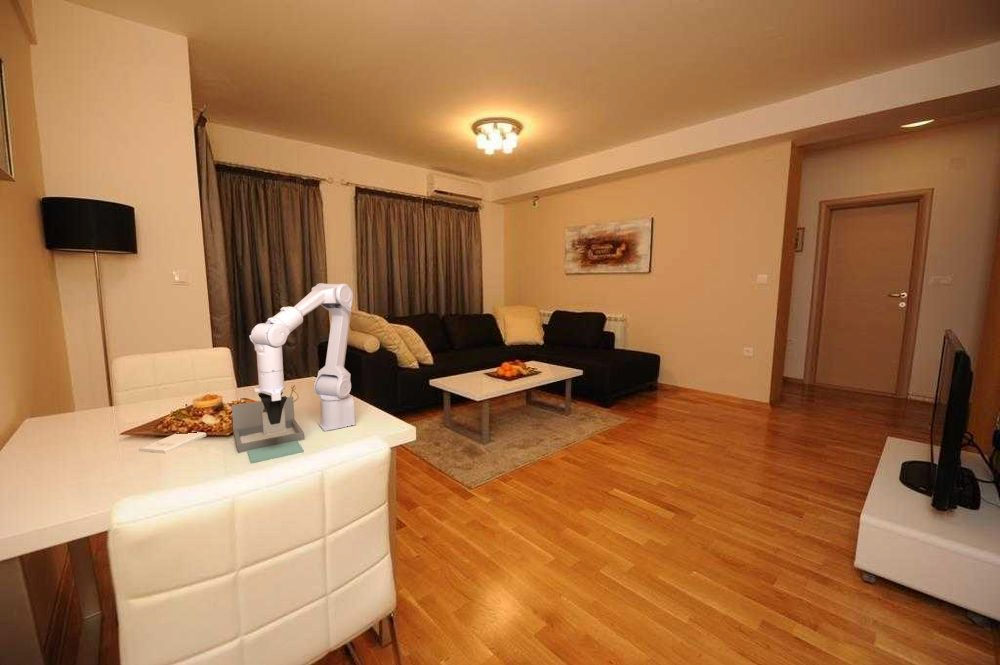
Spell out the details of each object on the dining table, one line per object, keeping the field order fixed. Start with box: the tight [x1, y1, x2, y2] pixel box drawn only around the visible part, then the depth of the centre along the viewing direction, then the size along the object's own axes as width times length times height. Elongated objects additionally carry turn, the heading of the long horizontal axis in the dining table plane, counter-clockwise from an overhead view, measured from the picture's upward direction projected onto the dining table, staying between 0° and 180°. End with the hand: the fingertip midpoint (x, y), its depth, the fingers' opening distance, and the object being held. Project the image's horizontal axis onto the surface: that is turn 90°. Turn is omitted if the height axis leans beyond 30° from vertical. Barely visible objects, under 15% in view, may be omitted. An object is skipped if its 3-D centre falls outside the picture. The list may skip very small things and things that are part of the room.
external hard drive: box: [138, 431, 207, 455], centre depth 114 cm, size 2×8×12 cm
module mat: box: [246, 441, 304, 464], centre depth 109 cm, size 12×8×1 cm, turn 126°
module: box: [260, 408, 287, 436], centre depth 107 cm, size 5×4×6 cm
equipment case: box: [231, 395, 305, 454], centre depth 118 cm, size 16×15×9 cm
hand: (273, 421), depth 108 cm, fingers closed on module, 4 cm apart
